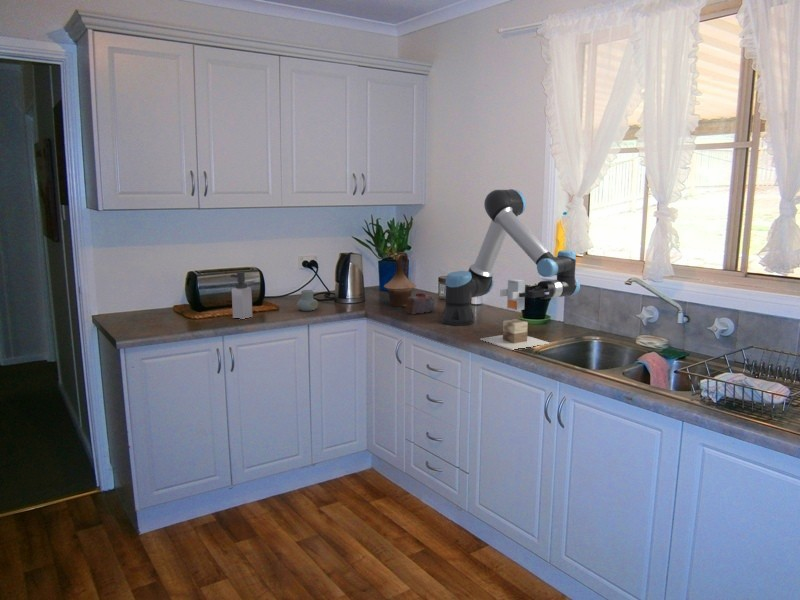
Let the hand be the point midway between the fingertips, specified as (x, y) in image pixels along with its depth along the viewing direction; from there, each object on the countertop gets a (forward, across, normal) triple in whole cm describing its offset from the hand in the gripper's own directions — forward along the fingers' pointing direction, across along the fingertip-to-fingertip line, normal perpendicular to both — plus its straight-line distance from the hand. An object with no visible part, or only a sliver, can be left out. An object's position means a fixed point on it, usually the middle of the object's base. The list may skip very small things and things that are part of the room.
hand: (506, 294), depth 256 cm
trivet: (-5, 0, -20) cm, 21 cm away
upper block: (-5, 0, -16) cm, 16 cm away
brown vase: (-6, +92, -20) cm, 94 cm away
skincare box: (-5, 0, -7) cm, 8 cm away
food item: (-5, +70, -20) cm, 73 cm away
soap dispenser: (+77, +103, -20) cm, 130 cm away
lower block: (-5, 0, -20) cm, 20 cm away
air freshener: (+42, +104, -20) cm, 114 cm away
